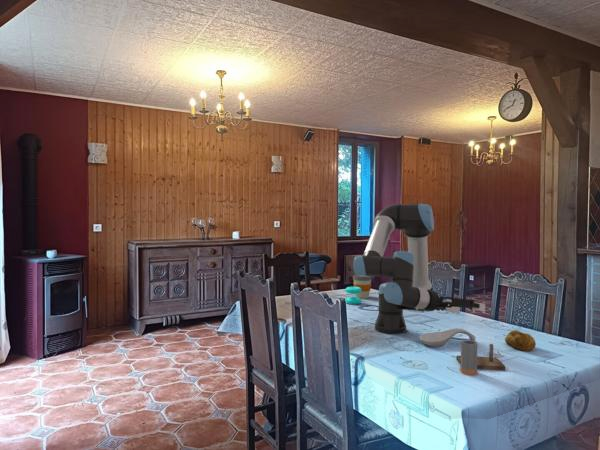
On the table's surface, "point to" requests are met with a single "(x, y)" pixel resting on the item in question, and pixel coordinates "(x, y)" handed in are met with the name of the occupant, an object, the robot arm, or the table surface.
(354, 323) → the table surface
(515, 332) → the bread roll
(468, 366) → the sleeve
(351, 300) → the donuts
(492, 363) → the pin board
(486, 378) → the table surface
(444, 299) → the robot arm
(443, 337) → the spoon rest
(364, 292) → the reusable coffee cup
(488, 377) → the table surface
